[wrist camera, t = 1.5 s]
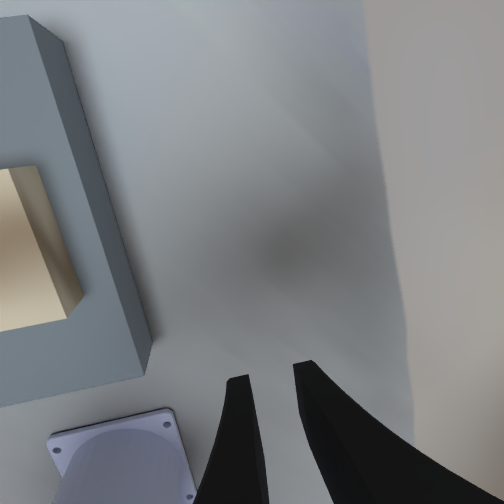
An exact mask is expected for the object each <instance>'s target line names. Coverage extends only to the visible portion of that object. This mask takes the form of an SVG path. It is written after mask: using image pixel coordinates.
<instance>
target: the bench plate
mask: <svg viewBox="0 0 504 504" xmlns="http://www.w3.org/2000/svg"><path fill="white" fill-rule="evenodd" d="M33 165H36V166H37V169H38V172H39V175H40V177H41V180H42V183H43V186H44V188H45V191H46V194H47V197H48V199H49V202H50V205H51V208H52V210H53V213H54V216H55V219H56V221H57V224H58V227H59V230H60V232H61V235H62V238H63V241H64V243H65V246H66V249H67V252H68V254H69V257H70V260H71V263H72V265H73V268H74V271H75V273H76V276H77V279H78V282H79V284H80V287H81V290H82V293H83V295H84V297H83V299H82V300H81V301H80V302H79V304H78V305H77V306H76V308H75V309H74V310H73V311H72V313H71V314H70V315H69V316H68V318H67V319H62V320H57V321H52V322H47V323H42V324H37V325H32V326H27V327H22V328H17V329H12V330H7V331H2V332H0V407H4V406H9V405H13V404H18V403H22V402H27V401H31V400H36V399H41V398H45V397H50V396H54V395H59V394H63V393H68V392H73V391H77V390H82V389H86V388H91V387H95V386H100V385H104V384H109V383H114V382H118V381H123V380H127V379H132V378H136V377H141V376H144V375H145V371H146V367H147V363H148V359H149V355H150V351H151V347H152V343H153V342H152V338H151V335H150V332H149V328H148V325H147V322H146V318H145V315H144V312H143V308H142V305H141V302H140V298H139V295H138V292H137V288H136V285H135V282H134V278H133V275H132V272H131V268H130V265H129V262H128V258H127V255H126V252H125V248H124V245H123V242H122V238H121V235H120V232H119V228H118V225H117V222H116V218H115V215H114V212H113V208H112V205H111V202H110V198H109V195H108V192H107V188H106V185H105V182H104V178H103V175H102V172H101V168H100V165H99V162H98V158H97V155H96V152H95V148H94V145H93V142H92V138H91V135H90V132H89V128H88V125H87V122H86V118H85V115H84V112H83V108H82V105H81V102H80V98H79V95H78V92H77V88H76V85H75V82H74V78H73V75H72V72H71V68H70V65H69V62H68V58H67V55H66V52H65V48H64V45H63V42H62V40H61V39H59V38H58V37H57V36H55V35H54V34H53V33H51V32H50V31H49V30H47V29H46V28H45V27H43V26H42V25H41V24H39V23H38V22H37V21H35V20H34V19H33V18H31V17H30V16H28V15H21V16H13V17H4V18H0V170H2V169H8V168H17V167H25V166H33Z"/></svg>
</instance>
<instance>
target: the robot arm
mask: <svg viewBox="0 0 504 504" xmlns="http://www.w3.org/2000/svg"><path fill="white" fill-rule="evenodd" d="M293 369H294V377H295V385H296V392H297V400H298V408H299V414H300V417H301V421H302V424H303V427H304V430H305V434H306V437H307V440H308V443H309V446H310V449H311V451H312V453H313V456H314V458H315V461H316V463H317V465H318V468H319V470H320V472H321V475H322V477H323V479H324V482H325V484H326V486H327V489H328V491H329V494H330V496H331V498H332V501H333V503H334V504H504V501H502V500H500V499H498V498H497V497H495V496H493V495H491V494H489V493H487V492H485V491H484V490H482V489H481V488H479V487H477V486H475V485H474V484H472V483H470V482H469V481H467V480H465V479H463V478H462V477H460V476H458V475H456V474H455V473H453V472H451V471H450V470H448V469H446V468H445V467H443V466H441V465H440V464H439V463H437V462H435V461H434V460H432V459H431V458H429V457H428V456H426V455H425V454H423V453H421V452H420V451H419V450H417V449H416V448H414V447H413V446H411V445H410V444H409V443H407V442H406V441H404V440H403V439H402V438H400V437H399V436H397V435H396V434H395V433H393V432H392V431H391V430H389V429H388V428H387V427H385V426H384V425H383V424H382V423H380V422H379V421H378V420H377V419H375V418H374V417H373V416H372V415H370V414H369V413H368V412H367V411H366V410H364V409H363V408H362V407H361V406H360V405H359V404H358V403H356V402H355V401H354V400H353V399H352V398H351V397H350V396H348V395H347V394H346V393H345V392H344V391H343V390H342V389H341V388H340V387H339V386H338V385H337V384H336V383H334V382H333V381H332V380H331V379H330V378H329V377H328V376H327V375H326V374H325V373H324V372H323V371H322V370H321V368H320V367H319V366H318V365H317V364H316V363H315V362H313V361H312V360H309V361H305V362H300V363H296V364H293ZM165 422H170V423H165ZM46 446H47V448H48V450H49V452H50V454H51V456H52V458H53V460H54V462H55V464H56V466H57V468H58V470H59V473H60V475H61V477H62V481H61V483H60V486H59V488H58V491H57V493H56V495H55V498H54V500H53V502H52V504H269V495H268V486H267V477H266V468H265V458H264V453H263V447H262V442H261V437H260V431H259V426H258V421H257V415H256V410H255V405H254V400H253V394H252V389H251V384H250V379H249V374H247V375H242V376H238V377H233V378H229V380H228V381H227V385H226V395H225V401H224V406H223V411H222V416H221V420H220V424H219V428H218V431H217V435H216V439H215V442H214V445H213V449H212V452H211V455H210V458H209V461H208V464H207V467H206V470H205V473H204V476H203V478H202V481H201V484H200V486H199V489H198V491H197V490H196V487H195V484H194V480H193V477H192V474H191V470H190V467H189V464H188V460H187V457H186V454H185V450H184V447H183V444H182V440H181V437H180V434H179V430H178V427H177V424H176V420H175V417H174V414H173V412H172V411H171V410H170V409H162V410H157V411H153V412H149V413H144V414H140V415H136V416H131V417H127V418H123V419H118V420H114V421H109V422H105V423H101V424H96V425H92V426H88V427H83V428H79V429H75V430H70V431H66V432H61V433H57V434H53V435H51V436H50V437H49V438H48V440H47V442H46ZM57 447H58V448H57Z"/></svg>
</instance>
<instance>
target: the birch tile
mask: <svg viewBox="0 0 504 504" xmlns="http://www.w3.org/2000/svg"><path fill="white" fill-rule="evenodd" d="M83 297H84V295H83V293H82V290H81V287H80V284H79V282H78V279H77V276H76V273H75V271H74V268H73V265H72V263H71V260H70V257H69V254H68V252H67V249H66V246H65V243H64V241H63V238H62V235H61V232H60V230H59V227H58V224H57V221H56V219H55V216H54V213H53V210H52V208H51V205H50V202H49V199H48V197H47V194H46V191H45V188H44V186H43V183H42V180H41V177H40V175H39V172H38V169H37V166H36V165H33V166H25V167H17V168H8V169H2V170H0V332H2V331H7V330H12V329H17V328H22V327H27V326H32V325H37V324H42V323H47V322H52V321H57V320H62V319H67V318H68V316H69V315H70V314H71V313H72V311H73V310H74V309H75V308H76V306H77V305H78V304H79V302H80V301H81V300H82V299H83Z"/></svg>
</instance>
